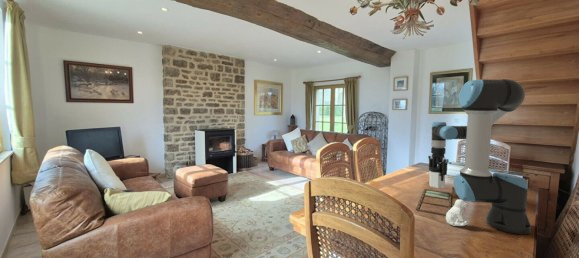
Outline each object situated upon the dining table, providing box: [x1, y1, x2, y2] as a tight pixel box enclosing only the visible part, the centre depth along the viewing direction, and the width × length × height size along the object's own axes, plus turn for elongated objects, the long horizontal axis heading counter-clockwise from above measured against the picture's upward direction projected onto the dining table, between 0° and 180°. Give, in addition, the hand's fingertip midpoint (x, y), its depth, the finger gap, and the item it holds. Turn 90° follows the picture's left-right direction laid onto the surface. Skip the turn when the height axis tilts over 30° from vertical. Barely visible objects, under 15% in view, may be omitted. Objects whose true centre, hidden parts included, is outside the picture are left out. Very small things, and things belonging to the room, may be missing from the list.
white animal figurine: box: [445, 198, 471, 227], centre depth 112 cm, size 6×8×12 cm
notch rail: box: [415, 186, 456, 217], centre depth 143 cm, size 43×17×6 cm, turn 147°
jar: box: [428, 165, 446, 189], centre depth 155 cm, size 9×8×12 cm
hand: (437, 184), depth 156 cm, fingers closed on jar, 4 cm apart
